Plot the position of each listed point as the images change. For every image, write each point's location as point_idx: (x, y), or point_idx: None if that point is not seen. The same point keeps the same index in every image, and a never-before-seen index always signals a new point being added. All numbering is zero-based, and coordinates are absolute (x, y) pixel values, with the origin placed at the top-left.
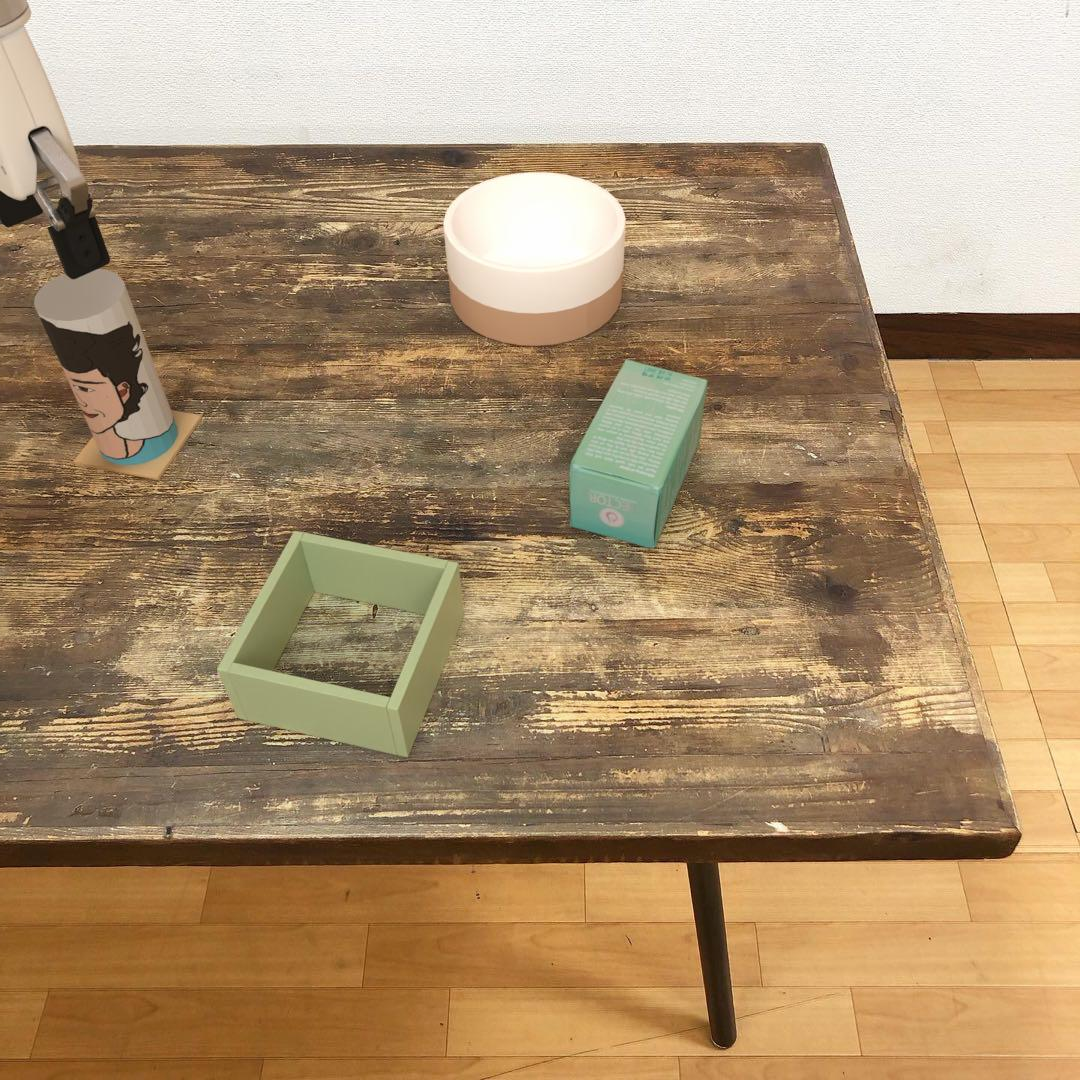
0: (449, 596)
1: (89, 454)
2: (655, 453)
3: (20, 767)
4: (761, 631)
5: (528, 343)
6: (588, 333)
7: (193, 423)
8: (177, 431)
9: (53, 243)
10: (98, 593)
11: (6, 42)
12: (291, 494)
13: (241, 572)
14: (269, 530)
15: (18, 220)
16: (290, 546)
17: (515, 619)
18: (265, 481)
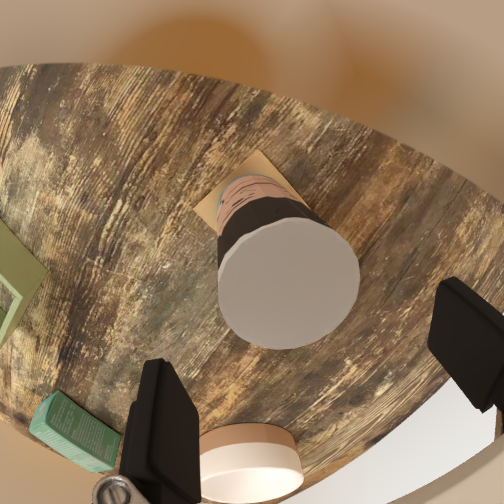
0: None
1: (258, 164)
2: (47, 442)
3: (6, 72)
4: (6, 397)
5: (201, 437)
6: None
7: None
8: None
9: (148, 428)
10: (94, 130)
11: None
12: (127, 292)
13: (69, 235)
14: (98, 266)
15: (437, 308)
16: (11, 289)
17: (12, 342)
18: (149, 282)
